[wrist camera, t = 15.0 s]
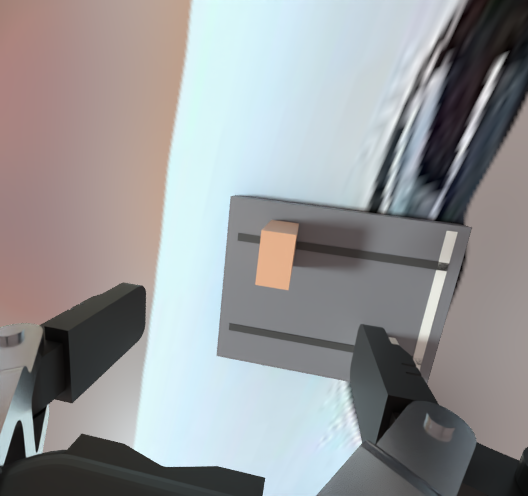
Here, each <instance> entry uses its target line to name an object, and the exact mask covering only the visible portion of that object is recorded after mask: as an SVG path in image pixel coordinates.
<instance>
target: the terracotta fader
mask: <svg viewBox="0 0 528 496" xmlns="http://www.w3.org/2000/svg"><path fill="white" fill-rule="evenodd" d="M298 227H299V223H292V222H285V221H277V220H271V221H270V222H269V223H268V224H267V225H266V226H265V227H264V228H263V229H262V230H261V239H260V247H259V256H258V265H257V273H256V282H255V285H259V286H265V287H271V288H277V289H284V290H289V285H290V279H291V274H292V268H293V262H294V255H295V248H296V241H297V234H298Z"/></svg>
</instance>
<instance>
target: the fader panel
mask: <svg viewBox="0 0 528 496" xmlns="http://www.w3.org/2000/svg"><path fill="white" fill-rule="evenodd" d="M271 220H277V221H285V222H292V223H299V227H298V234H297V241H296V248H295V255H294V262H293V268H292V274H291V279H290V285H289V290H284V289H277V288H271V287H265V286H259V285H255V282H256V273H257V265H258V256H259V247H260V239H261V230H262V229H263V228H264V227H265V226H266V225H267V224H268V223H269V222H270V221H271ZM471 229H472V228H471V227H468V226H464V225H461V224H455V223H447V222H439V221H431V220H424V219H416V218H408V217H400V216H393V215H385V214H377V213H369V212H362V211H354V210H346V209H338V208H331V207H323V206H315V205H307V204H299V203H292V202H284V201H276V200H268V199H261V198H253V197H245V196H237V195H235V196H231V199H230V211H229V222H228V233H227V245H226V256H225V267H224V279H223V290H222V301H221V313H220V324H219V336H218V347H217V356H220V357H225V358H230V359H236V360H241V361H246V362H251V363H256V364H261V365H266V366H272V367H277V368H282V369H287V370H292V371H297V372H302V373H307V374H313V375H318V376H323V377H328V378H333V379H338V380H343V381H349V382H350V367H351V361H352V356H353V351H354V347H355V342H356V337H357V333H358V329H359V326H360V324H365V325H371V326H377V327H383V328H384V329H385V331H386V333H387V335H388V337H391V338H396V340H397V342H398V344H399V345H400V346H401V347H402V348H403V349H404V350H405V351H406V352H408V353H409V354H410V355H411V357H412V359H413V361H414V362H415V364H416V368H418V369H419V371H420V373H421V377H423V378H424V380H425V382H426V383H427V382H428V379H429V376H430V372H431V369H432V365H433V362H434V358H435V355H436V351H437V348H438V344H439V341H440V337H441V334H442V330H443V327H444V323H445V320H446V317H447V313H448V310H449V306H450V303H451V299H452V296H453V292H454V289H455V285H456V282H457V278H458V275H459V271H460V268H461V264H462V261H463V257H464V254H465V250H466V247H467V243H468V240H469V236H470V233H471Z"/></svg>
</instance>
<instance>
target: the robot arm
mask: <svg viewBox="0 0 528 496" xmlns="http://www.w3.org/2000/svg"><path fill="white" fill-rule="evenodd" d="M145 307H146V291H145V288H144V287H143V286H140V285H134V284H128V283H121V284H119V285H117V286H116V287H114V288H112V289H110V290H108V291H107V292H105V293H103V294H100V295H97V296H93V297H91V298H89V299H87V300H85V301H83V302H82V303H80V305H79V304H78V305H76V306H74V307H73V308H71V309H70V310H67V311H65V312H63V313H61V314H59V315H58V316H56V317H54V318H52V319H51V320H48V321H47V322H45V323H43V324H41V325H36V324H30V323H21V324H12V325H7V326H3V327H0V496H262V495H263V489H264V482H265V478H264V477H260V476H255V475H251V474H247V473H243V472H239V471H235V470H231V469H226V468H222V467H218V466H207V467H164V466H161V465H159V464H157V463H156V462H154V461H152V460H150V459H149V458H147V457H145V456H144V455H142V454H140V453H139V452H137V451H135V450H134V449H132V448H130V447H129V446H127V445H125V444H122V443H118V442H114V441H110V440H106V439H102V438H97V437H93V436H89V435H85V434H81V435H80V436H79V437H78V438H77V439H76V441H75V442H74V443H73V444H72V445H71V446H70V448H68V450H58V451H50V452H46V453H42V451H43V446H44V441H45V435H46V429H47V424H48V418H49V403H50V402H52V400H54V399H56V400H60V401H64V402H69V403H73V402H74V401H75V400H76V399H77V398H78V397H79V396H80V395H81V394H82V393H84V392H85V391H86V390H87V389H88V388H89V387H90V386H91V385H92V384H93V383H94V382H95V381H96V380H97V379H98V378H99V377H101V376H102V375H103V374H104V373H105V372H106V371H107V370H108V369H109V368H110V367H111V366H112V365H113V364H114V363H115V362H116V361H117V360H118V359H120V357H122V356H123V355H124V354H125V353H126V352H127V351H128V350H129V349H130V348H131V347H132V346H133V345H134V344H135V343H136V342H138V341H139V339H140V338H141V336H142V334H143V332H144V329H145V313H146V312H145V310H146V308H145ZM350 383H351V388H352V393H353V398H354V403H355V408H356V413H357V418H358V423H359V428H360V433H361V438H362V444H361V445H360V446H359V448H358V449H357V450H356V451H355V452H354V453H353V454H352V456H351V457H350V458H349V459H348V460H347V461H346V462H345V464H344V465H343V466H342V467H341V468H340V469H339V470H338V472H337V473H336V474H335V475H334V476H333V477H332V478H331V480H330V481H329V482H328V483H327V484H326V485H325V486H324V487H323V489H322V490H321V491H320V492H319V493H318V494H317V495H316V496H528V447H527V448H526V449H525V450H524V451H523V454H522V456H521V459H520V461H519V460H516V459H514V458H511V457H509V456H507V455H504V454H502V453H499V452H497V451H495V450H493V449H490V448H488V447H486V446H483V445H481V444H479V443H477V442H476V437H475V434H474V432H473V431H472V429H471V428H470V427H469V426H468V424H467V423H466V422H465V421H464V420H463V419H461V418H460V417H459V416H458V415H456V414H455V413H453V412H452V411H450V410H448V409H447V408H445V407H442V406H440V405H439V404H438V403H437V401H436V399H435V397H434V396H433V394H432V392H431V390H430V389H429V387H428V385H427V383H426V382H425V380H424V378H423V377H421V373H420V371H419V369H418V368H416V364H415V362H414V361H413V359H412V357H411V355H410V354H409V353H408V352H406V351H405V350H404V349H403V348H402V347H401V346H400V345H397V344H392V343H391V341H390V339H389V337H388V335H387V333H386V331H385V329H384V328H383V327H377V326H371V325H365V324H360V326H359V329H358V333H357V337H356V342H355V347H354V351H353V356H352V361H351V367H350Z"/></svg>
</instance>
